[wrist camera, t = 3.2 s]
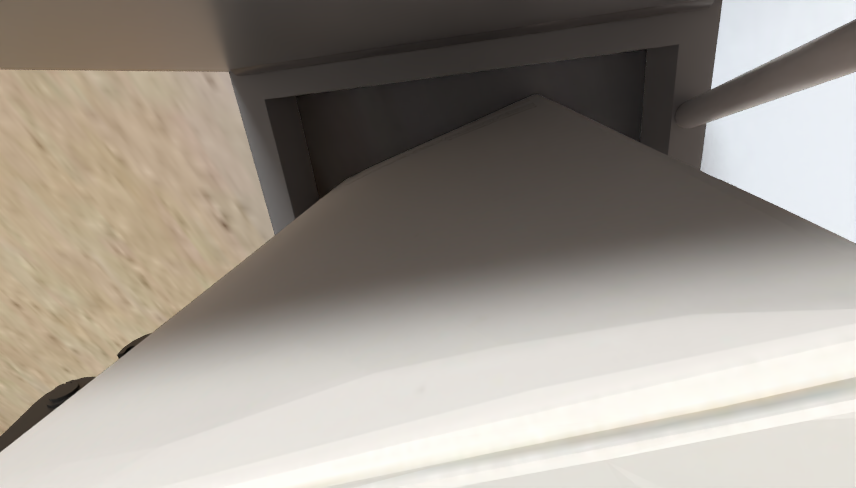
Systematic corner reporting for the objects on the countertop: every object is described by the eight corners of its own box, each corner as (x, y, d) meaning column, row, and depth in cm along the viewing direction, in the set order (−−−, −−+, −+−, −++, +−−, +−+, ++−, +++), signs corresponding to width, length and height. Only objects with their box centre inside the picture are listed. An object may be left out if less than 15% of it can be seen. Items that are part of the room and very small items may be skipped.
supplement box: (334, 179, 17) (-256, 594, 3) (541, 87, 15) (1266, 258, 1) (421, 346, 20) (285, 942, 6) (607, 292, 18) (1045, 1065, 4)
